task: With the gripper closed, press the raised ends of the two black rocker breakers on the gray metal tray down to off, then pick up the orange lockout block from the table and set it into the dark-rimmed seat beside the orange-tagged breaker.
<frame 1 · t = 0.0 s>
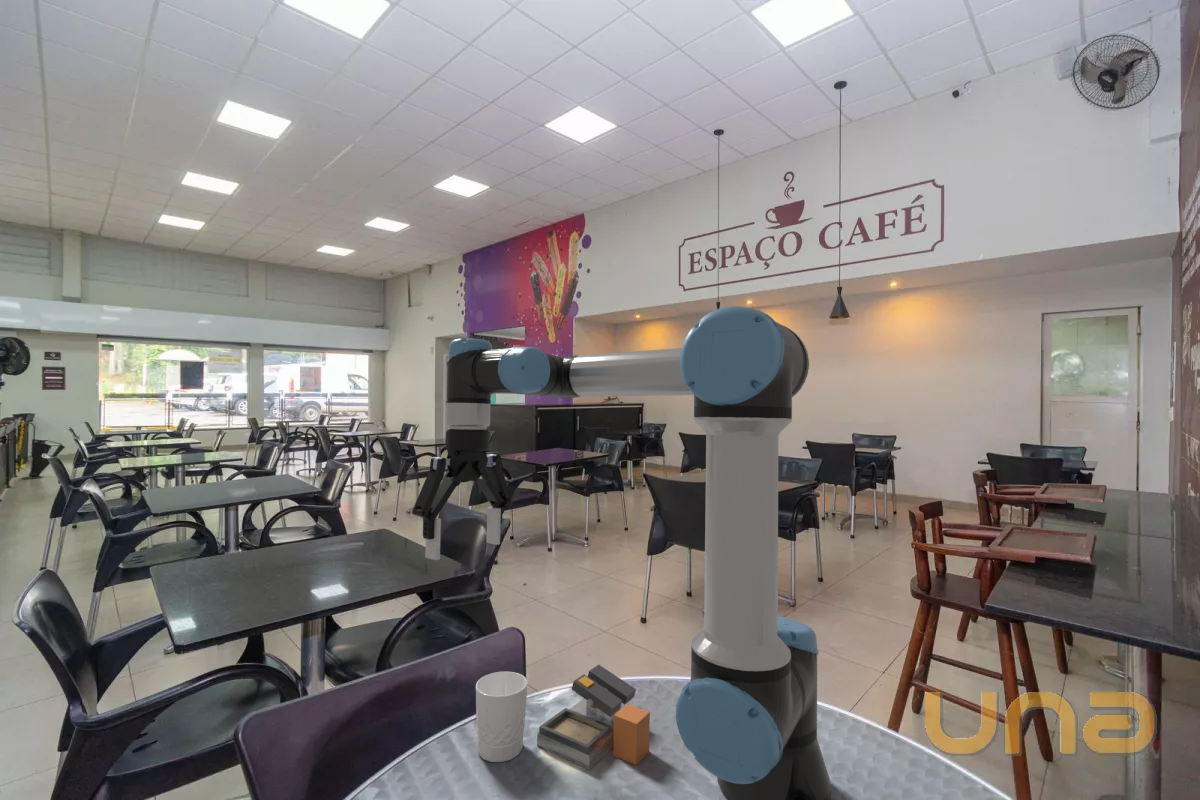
hand: (464, 550, 92), 28 cm above the table, tool pointing down, fingers open, 13 cm apart
breaker a: (610, 685, 91), point 5 cm above the table, hinge at -15.0°
gray metal tray: (590, 733, 86), on the table
breaker b: (596, 695, 88), point 6 cm above the table, hinge at -15.0°
white cup: (500, 750, 82), on the table
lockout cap: (631, 753, 82), on the table
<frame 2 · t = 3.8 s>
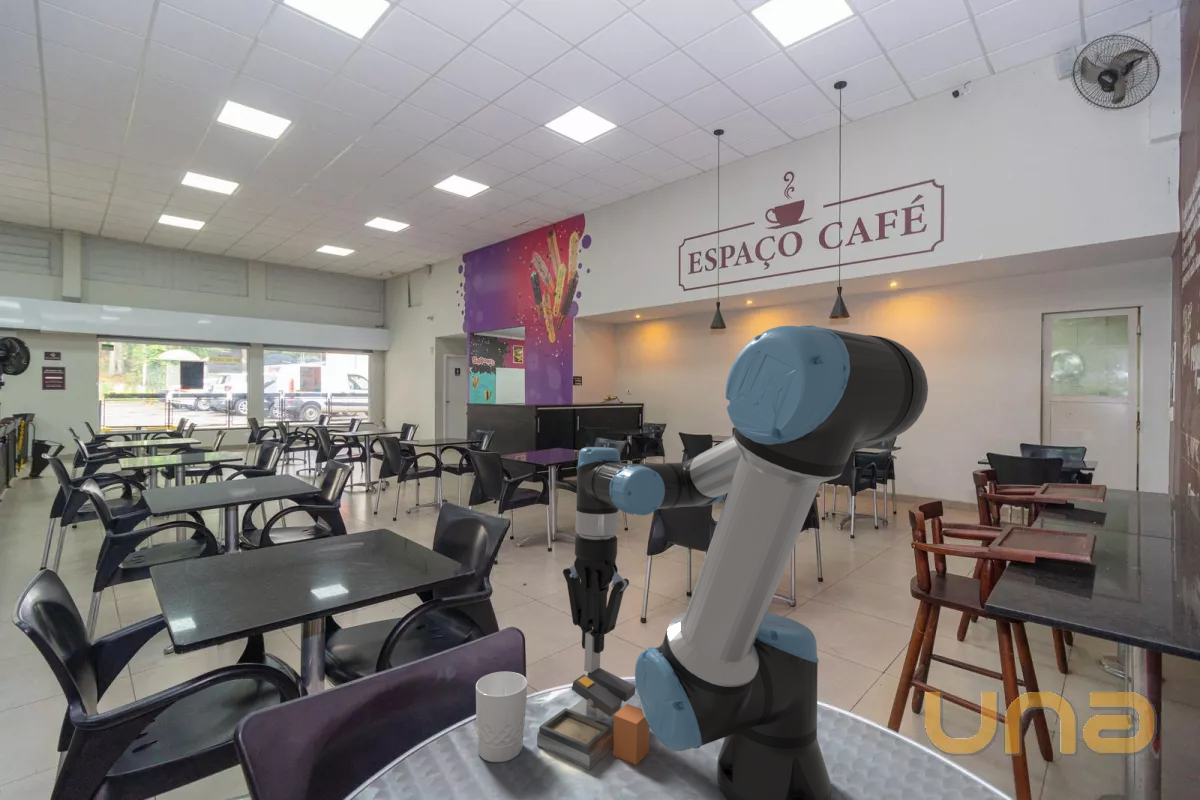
hand: (592, 668, 94), 7 cm above the table, tool pointing down, fingers closed
breaker a: (610, 685, 91), point 5 cm above the table, hinge at -8.0°, touching gripper
everything else where it was.
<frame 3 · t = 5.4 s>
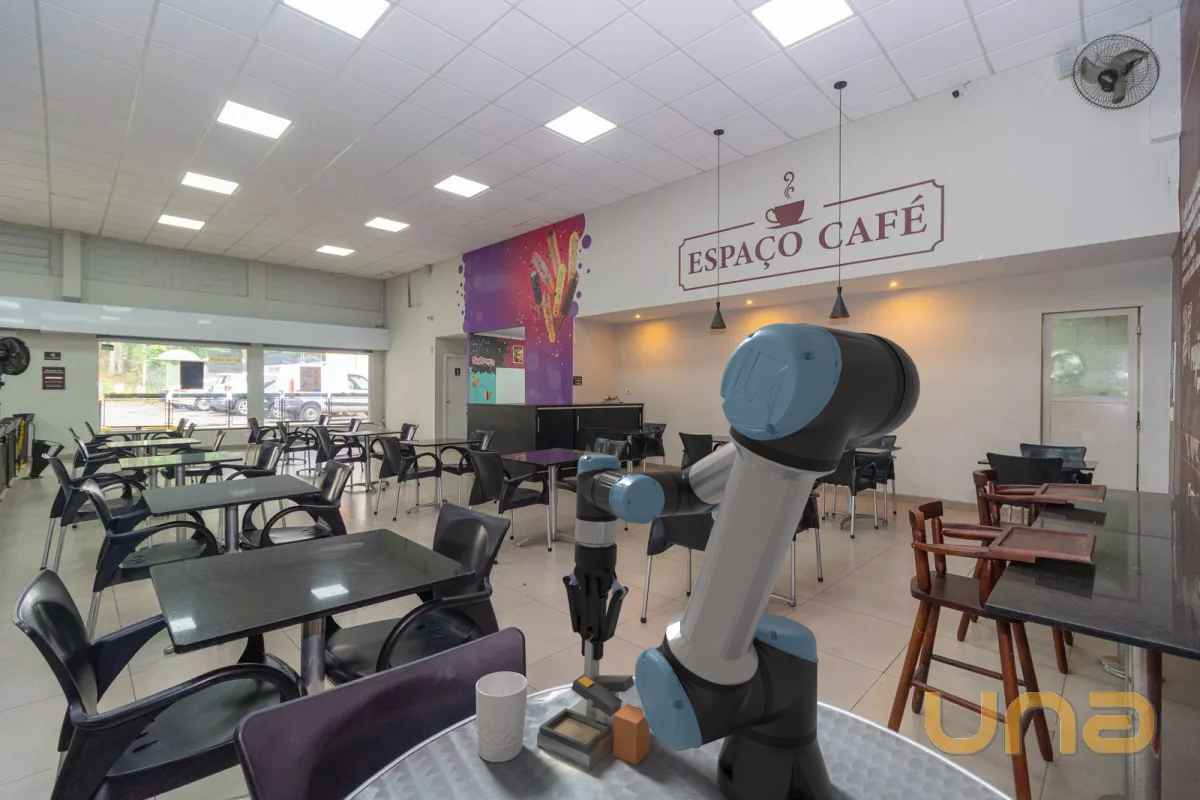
hand: (591, 676, 94), 6 cm above the table, tool pointing down, fingers closed
breaker a: (609, 685, 91), point 5 cm above the table, hinge at 15.3°, touching gripper
everything else where it was.
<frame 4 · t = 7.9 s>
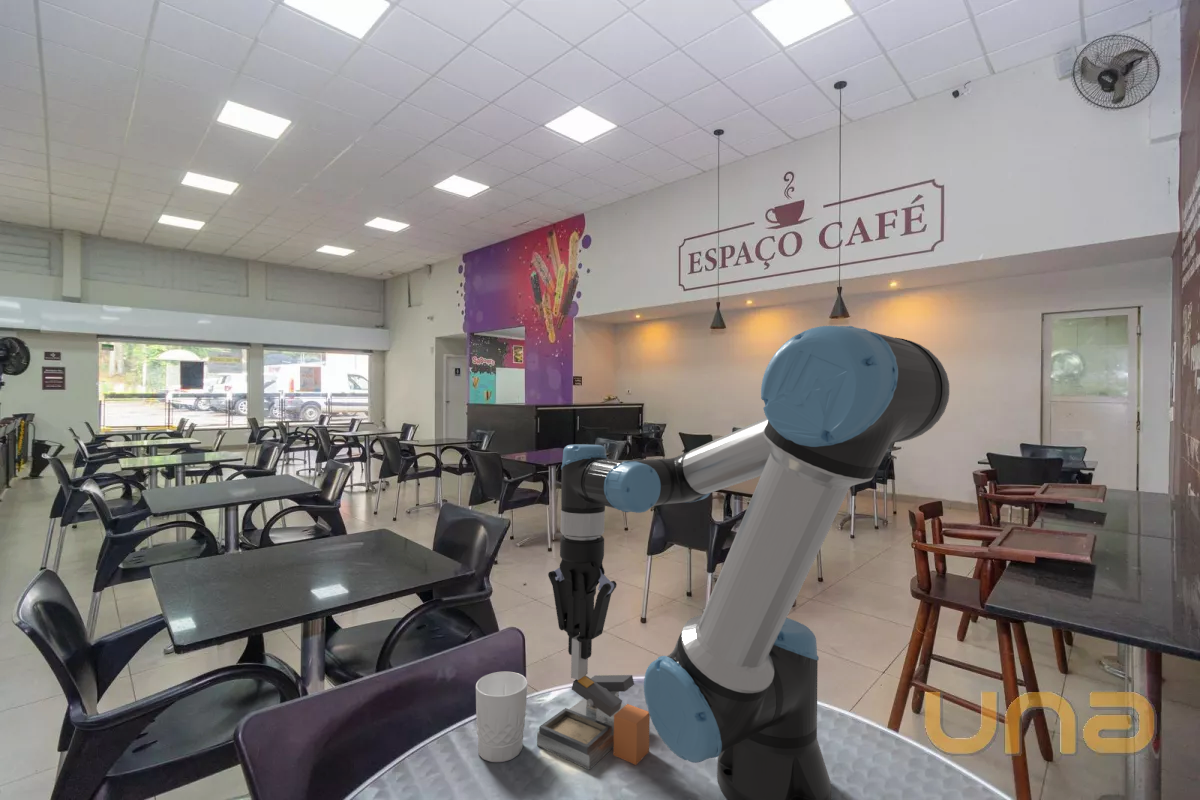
hand: (579, 675, 90), 8 cm above the table, tool pointing down, fingers closed
breaker a: (609, 685, 91), point 5 cm above the table, hinge at 16.0°
breaker b: (596, 695, 88), point 6 cm above the table, hinge at -15.0°, touching gripper
everything else where it was.
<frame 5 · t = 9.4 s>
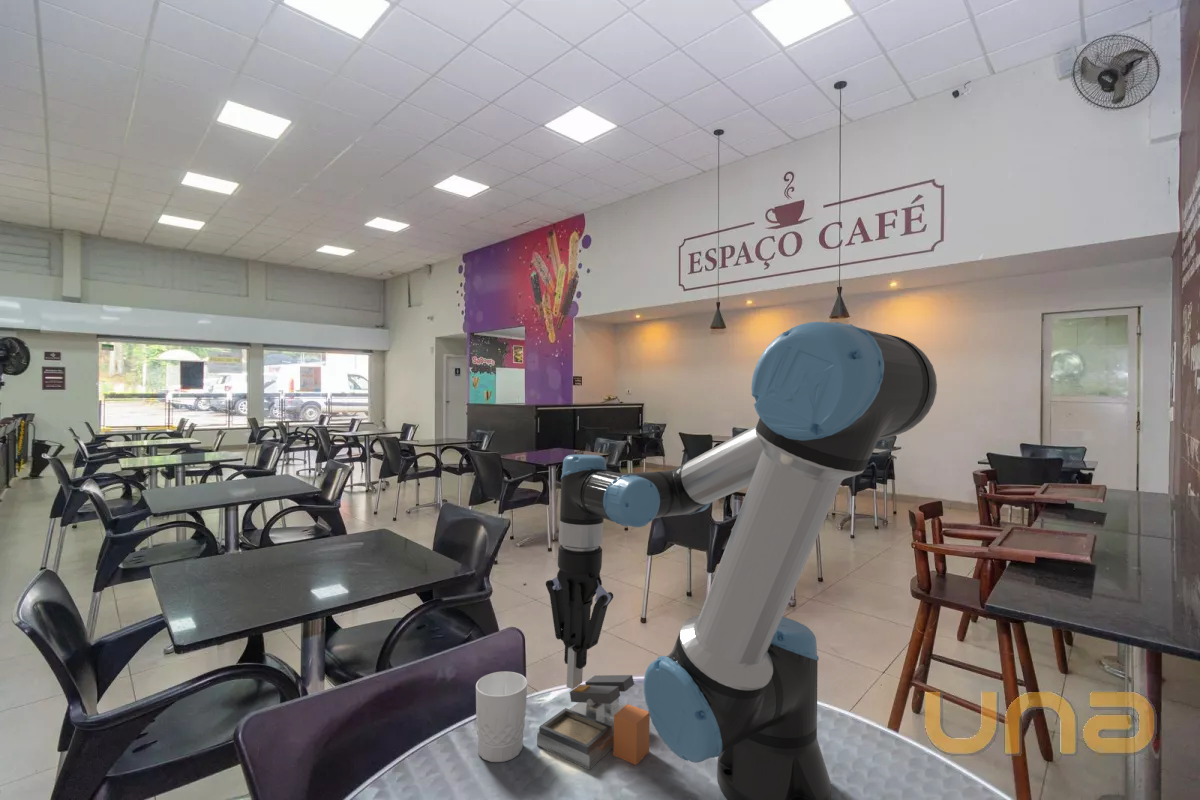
hand: (574, 684, 90), 6 cm above the table, tool pointing down, fingers closed
breaker b: (594, 695, 88), point 6 cm above the table, hinge at 14.8°, touching gripper
everything else where it was.
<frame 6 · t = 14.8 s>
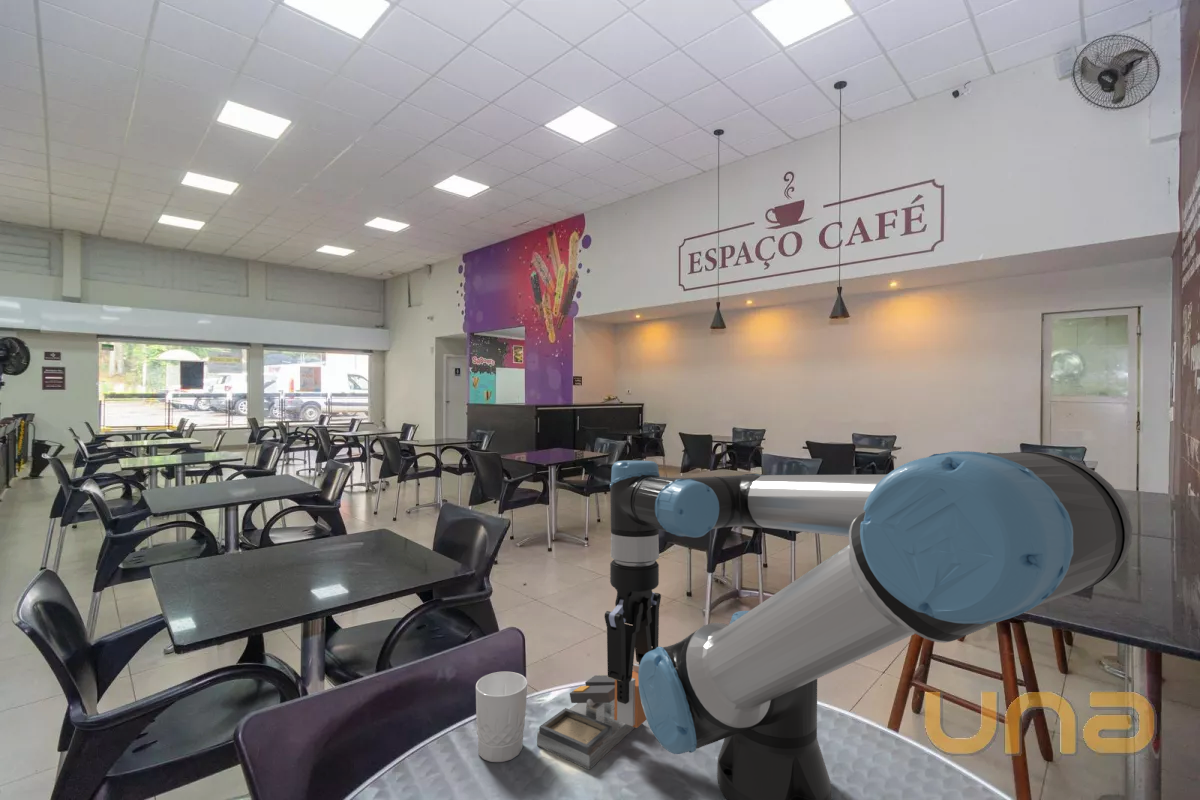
hand: (634, 715, 81), 6 cm above the table, tool pointing down, fingers closed on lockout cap, 4 cm apart
breaker b: (594, 695, 88), point 6 cm above the table, hinge at 17.4°
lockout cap: (632, 717, 81), point 5 cm above the table, touching gripper
everything else where it was.
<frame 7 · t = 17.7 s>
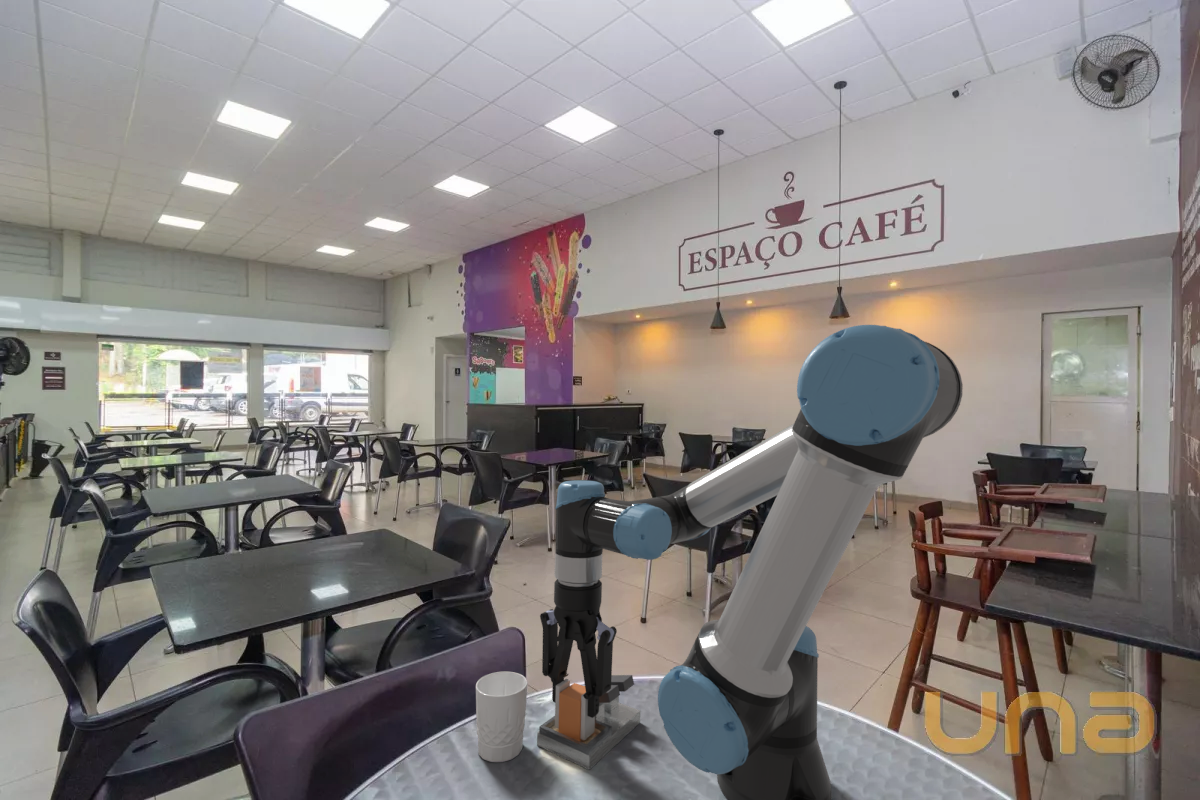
hand: (574, 729, 83), 2 cm above the table, tool pointing down, fingers closed on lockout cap, 4 cm apart
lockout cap: (576, 730, 84), point 2 cm above the table, touching gripper, gray metal tray
everything else where it was.
when the fingers open (3 cm above the table, at t = 19.0 s): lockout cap stays where it is, resting on gray metal tray.
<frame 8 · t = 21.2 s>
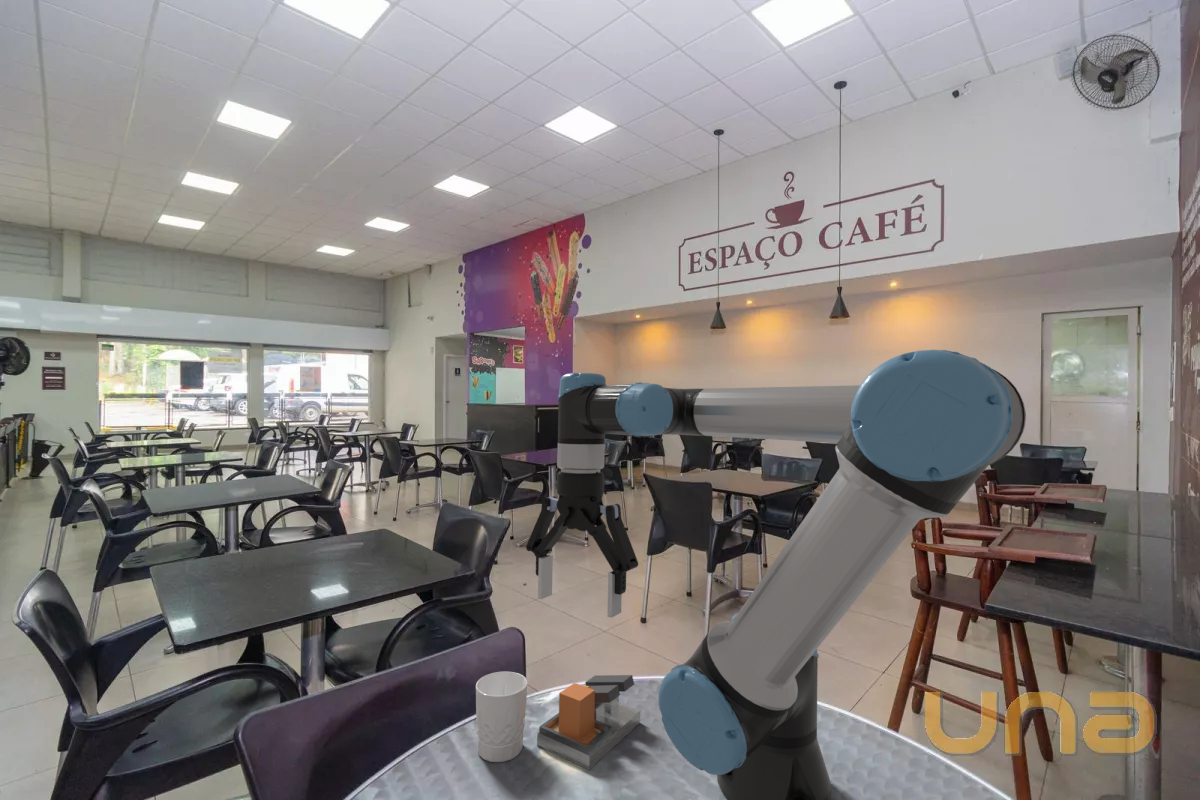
hand: (578, 605, 84), 22 cm above the table, tool pointing down, fingers open, 13 cm apart
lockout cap: (576, 730, 84), point 2 cm above the table, touching gray metal tray
everything else where it was.
at the end: breaker a at +16° (first picture: -15°); breaker b at +17° (first picture: -15°); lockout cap 0.5 cm from the target spot on the gray metal tray, point 2.2 cm above the gray metal tray's base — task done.
